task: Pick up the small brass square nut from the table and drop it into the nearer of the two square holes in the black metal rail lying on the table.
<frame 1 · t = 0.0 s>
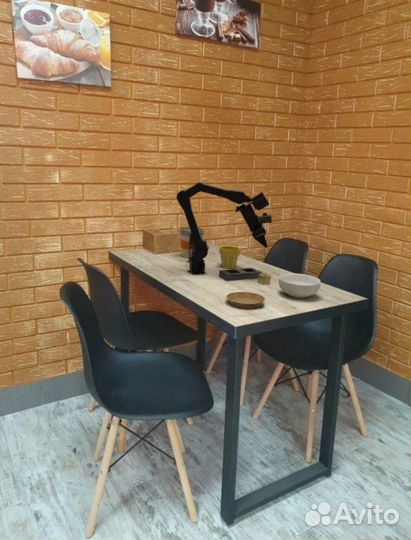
hand: (265, 245, 210), 15 cm above the table, tool tilted 35°, fingers open, 9 cm apart
plant saucer: (245, 304, 174), on the table
plant pot: (228, 267, 229), on the table
reusable coffee cup: (190, 257, 246), on the table
rail: (240, 277, 211), on the table
nut: (263, 283, 203), on the table
deodorant: (194, 262, 234), on the table
cereal bowl: (297, 295, 188), on the table
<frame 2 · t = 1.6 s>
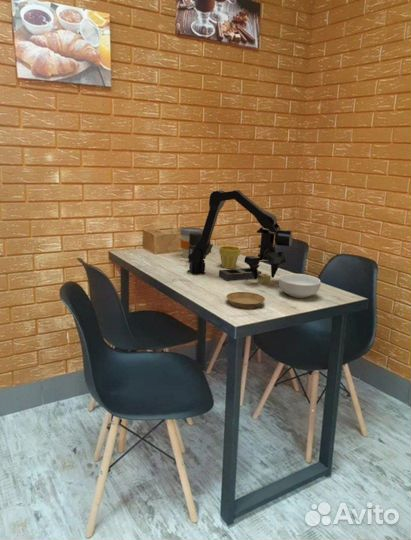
hand: (264, 278, 202), 2 cm above the table, tool pointing down, fingers open, 9 cm apart
nothing on the table moved.
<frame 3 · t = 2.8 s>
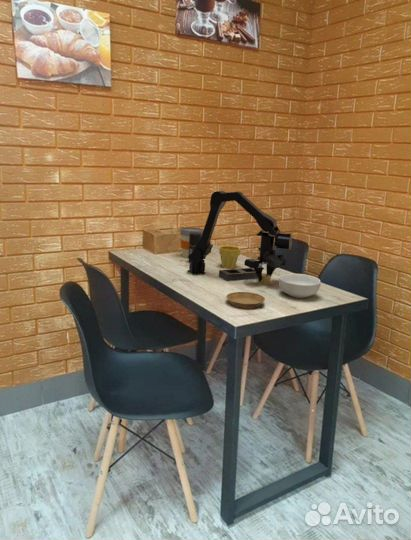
hand: (263, 281, 202), 1 cm above the table, tool pointing down, fingers closed on nut, 4 cm apart
nut: (263, 283, 203), on the table, touching gripper
everything else where it was.
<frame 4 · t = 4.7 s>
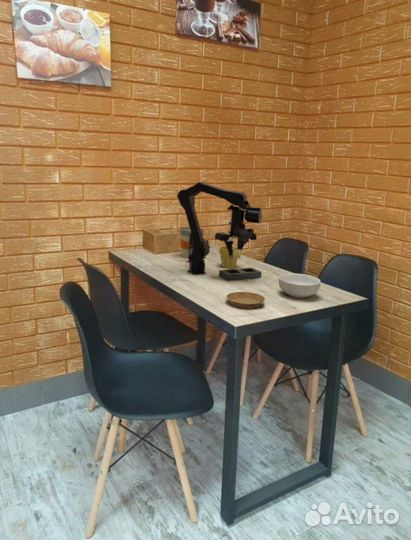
hand: (234, 255, 206), 11 cm above the table, tool pointing down, fingers closed on nut, 4 cm apart
nut: (234, 257, 206), point 10 cm above the table, touching gripper
everything else where it was.
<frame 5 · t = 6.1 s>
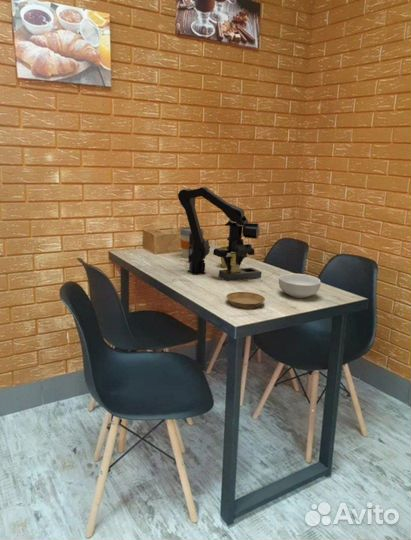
hand: (232, 270, 208), 4 cm above the table, tool pointing down, fingers closed on nut, 4 cm apart
nut: (232, 272, 208), point 3 cm above the table, touching gripper
everything else where it was.
when the fingers open (3 cm above the table, at t = 6.8 s): nut drops 3 cm, resting in rail.
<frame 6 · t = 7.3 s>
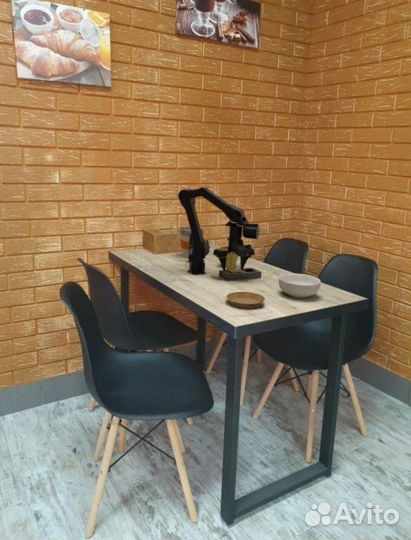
hand: (233, 270, 208), 3 cm above the table, tool pointing down, fingers open, 9 cm apart
nut: (232, 278, 209), resting in rail
everything else where it was.
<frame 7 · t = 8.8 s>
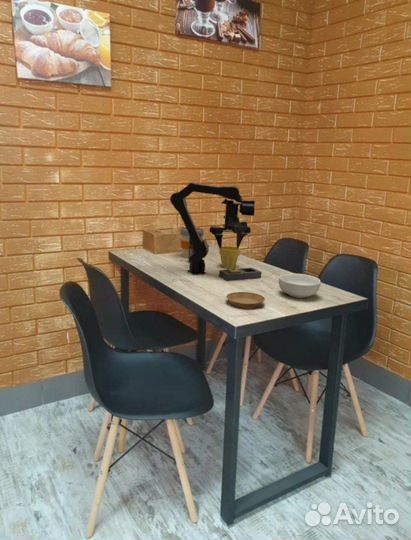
hand: (229, 248, 209), 13 cm above the table, tool pointing down, fingers open, 9 cm apart
nothing on the table moved.
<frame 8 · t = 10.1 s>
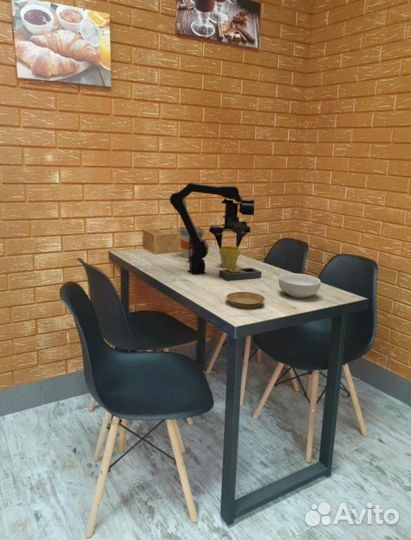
hand: (228, 247, 210), 13 cm above the table, tool pointing down, fingers open, 9 cm apart
nothing on the table moved.
at the end: nut 0.1 cm from the target spot on the rail, point 0.0 cm above the rail's base; the gripper is holding nothing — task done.
